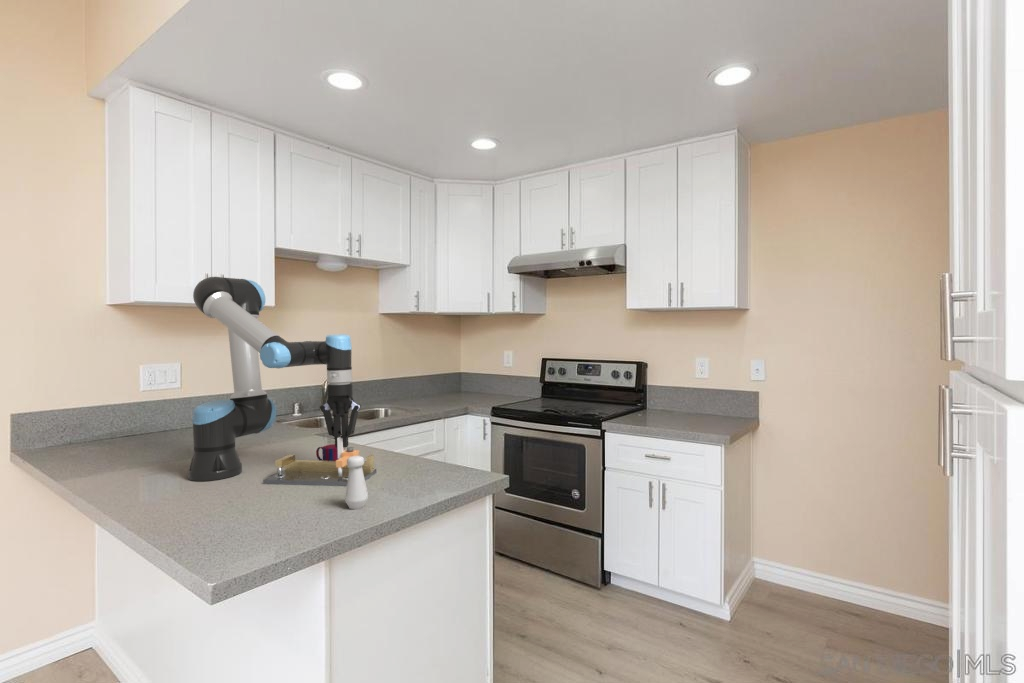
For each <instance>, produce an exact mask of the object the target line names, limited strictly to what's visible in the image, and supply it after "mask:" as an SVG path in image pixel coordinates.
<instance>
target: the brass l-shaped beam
mask: <svg viewBox="0 0 1024 683" xmlns="http://www.w3.org/2000/svg"><path fill="white" fill-rule="evenodd" d="M283 467H284V470H285V471H318V472H338V467H336V461H320V460H318V459H317V460H313V459H312V460H310V459H308V460H307V459H296V454H288V455H286V456H283V457H281V458H278V459H275V468H277V473H278V476H282V471H283ZM362 469H363V473H371V472H373V471H374V469H375V455H374V454H370V455H368V456H366V461H365V460H364V465H362ZM342 472H349V467H348V466H347V465H346V466H344V467H342Z"/></svg>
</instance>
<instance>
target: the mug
mask: <svg viewBox="0 0 1024 683" xmlns="http://www.w3.org/2000/svg"><path fill="white" fill-rule="evenodd" d="M320 449H321V452H322V455H321V456H322V458H321V456H320V454H319V452H320ZM315 451H316V452H315V456H316V458H317V460H320V461H336V460H338V447H335V443H333V444H332V443H331V444H327V445H326V444H325V445H324V446H319V447H317V448H316V450H315Z"/></svg>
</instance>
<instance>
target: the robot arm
mask: <svg viewBox="0 0 1024 683" xmlns="http://www.w3.org/2000/svg"><path fill="white" fill-rule="evenodd" d="M192 296H193V298H192V299H193V302H194V304H195V306H196V307H197V309H198V310H199V311H200V312H201V313H202V314H203V315H205V316H206V317H208V318H210V319H215V320H217V321H218V322H219V323H221V324H222V325H224V326H225V327H226V328H227V333H228V341H229V351H230V364H231V372H232V373H231V374H232V383H233V393H232V394H231V396H230V397H229V399H219V400H213V401H209V402H205V403H201V404H198V405H197V406H195V408H194V409H193V411H192V420H191V422H192V426H193V427H192V432H193V454H192V458H191V462H190V465H189V469H188V470H187V474H188V476H187V478H188V480H190V481H194V482H208V481H215V480H216V481H217V480H223V479H227V478H232V477H235V476H237V475H239V474H241V473H242V472H243V464H242V461H241V460H240V456H239V454H238V451H237V448H236V438H241V437H245V436H249V435H252V434H253V435H254V434H259V433H261V432H265V431H267V430H269V429H270V428H272V426H273V424H274V423H275V422H276V418H277V406H276V404H275V403H274V401H273V399H271V398H268V392H266V391H265V390H264V389H263V387H262V381H261V380H262V379H261V378H262V377H261V368H260V360H261V362H262V365H263V366H264V367H266V368H268V369H269V368H270V369H283V368H290V367H291V368H292V367H302V366H313V365H315V366H316V365H326V381H327V383H328V384H327V387H326V388H327V400H326V403H325V404H324V403H323V405H320V406H319V409H320V411H321V413H322V414H323V418H324V421H325V425H326V429H327V430H326V431H327V434H328V435H329V436H331V437H334V444H335V447H338V459H340V458H341V453H342V452H344V451H346V450H347V448H348V447H349V437H350V436H351V435H354V433H355V429H356V425H357V420H358V416H359V415H358V414H359V412H360V410H361V408H362V405H361V404H357V403H356V402H355V399H354V397H353V391H354V390H353V384H352V382H353V372H352V371H353V370H352V369H353V367H352V366H353V365H352V349H353V348H352V339H351V336H350V335H348V334H327V335H326V336H325V340H324V341H320V340H316V341H315V340H314V341H313V340H309V341H308V340H306V341H287V340H285V339H284V338H283V337H281V336H280V335H279V334H278V333H276V332H275V331H273V329H271V328H269V327H268V326H267V325H265V324H264V323H263V322H261V321H260V320H259V318H260V312H261V311H262V310H264V306H265V305H266V295H265V291H264V290H263V288H262V287H261V285H260V284H258V282H256V281H254V280H251V279H245V278H235V277H233V278H232V277H221V276H209V277H206V278H204V279H202V280H201V281H199V282H198V283H197V285H195V287H194V289H193V295H192ZM350 409H351V412H350ZM331 411H332V412H331ZM349 412H350V413H349ZM349 414H350V415H349ZM349 416H350V417H349Z"/></svg>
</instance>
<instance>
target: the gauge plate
mask: <svg viewBox="0 0 1024 683" xmlns="http://www.w3.org/2000/svg"><path fill="white" fill-rule="evenodd" d="M363 474H364V478H365V482H366V481H367V480H369V479H370V478H371V477H372V476H374V475H376V474H377V469H376V468H374V471H373V472H371V473H363ZM348 475H349V472H342V477H338V472H318V471H285V469H282V476H278V472H277V473H274V474H273V475H270V476H268V477H266V478H263V479H262V484H264V485H292V486H293V485H295V486H296V485H298V486H300V485H301V486H332V487H333V486H334V487H347V482H348Z"/></svg>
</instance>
